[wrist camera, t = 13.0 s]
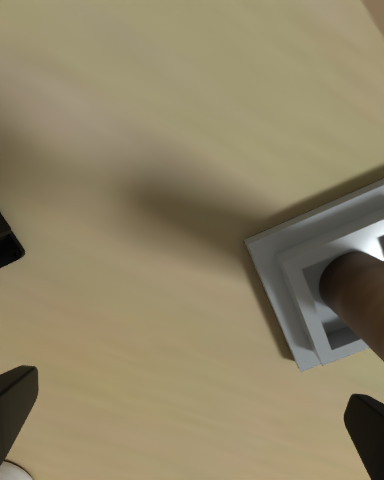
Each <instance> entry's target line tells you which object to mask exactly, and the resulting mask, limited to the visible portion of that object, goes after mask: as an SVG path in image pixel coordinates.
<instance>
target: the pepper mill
mask: <svg viewBox="0 0 384 480" xmlns="http://www.w3.org/2000/svg"><path fill="white" fill-rule="evenodd" d="M319 293H320V296H321V298H322V300H323V301H324V303H325V304H326V305H327V306H328V307H329V308H330V309H331V310H332V311H333V312H334V313H335V314H336V315H337V316H338V317H339V318H340V319H341V320H342V321H343V322H344V323H345V324H346V325H347V326H348V327H349V328H350V329H351V330H352V331H353V332H354V333H355V334H356V335H358V336H359V337H360V338H361V339H362V340H363V341H364V342H365V343H366V344H367V345H368V346H369V347H370V348H371V349H372V350H373V351H374V352H375V353H376V354H377V355H378V356H379V357H380V358H381V359H382V360H383V361H384V261H382V260H380V259H378V258H376V257H374V256H372V255H370V254H368V253H364V252H350V253H346V254H343V255H341V256H339V257H337V258H336V259H334V260H333V261H332V262H331V263H330V264H329V265H328V266H327V267H326V268H325V270H324V271H323V273H322V275H321V278H320V282H319Z"/></svg>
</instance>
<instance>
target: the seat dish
mask: <svg viewBox="0 0 384 480" xmlns="http://www.w3.org/2000/svg"><path fill="white" fill-rule="evenodd" d="M244 242H245V244H246V247H247V249H248V251H249V254H250V256H251V259H252V261H253V263H254V266H255V268H256V270H257V273H258V275H259V278H260V280H261V282H262V285H263V287H264V289H265V292H266V294H267V297H268V299H269V301H270V304H271V306H272V308H273V311H274V313H275V315H276V318H277V320H278V323H279V325H280V327H281V330H282V332H283V334H284V337H285V339H286V342H287V344H288V346H289V349H290V351H291V353H292V356H293V358H294V361H295V363H296V364H297V366H298V368H299V370H300V372H302V371H305V370H307V369H310V368H313V367H315V366H318V365H320V364H322V366H323V365H326V364H328V363H331V362H334V361H336V360H339V359H342V358H344V357H347V356H349V355H352V354H355V353H357V352H360V351H362V350H365V349H368V348H370V347H369V346H368V345H367V344H366V343H365V342H364V341H363V340H362V339H361V338H360V337H359V336H358V335H356V334H355V333H354V332H353V331H352V330H351V329H350V328H349V327H348V326H347V325H346V324H345V323H344V322H343V321H342V320H341V319H340V318H339V317H338V316H337V315H336V314H335V313H334V312H333V311H332V310H331V309H330V308H329V307H328V306H327V305H326V304H325V303H324V301H323V300H322V298H321V296H320V293H319V282H320V278H321V275H322V273H323V271H324V270H325V268H326V267H327V266H328V265H329V264H330V263H331V262H332V261H333V260H334V259H336V258H337V257H339V256H341V255H343V254H346V253H350V252H364V253H368V254H370V255H372V256H374V257H376V258H378V259H380V260H382V261H384V178H383V179H381V180H379V181H377V182H374V183H372V184H370V185H367V186H365V187H363V188H361V189H358V190H356V191H354V192H352V193H349V194H347V195H345V196H343V197H340V198H338V199H336V200H333V201H331V202H329V203H327V204H324V205H322V206H320V207H318V208H315V209H313V210H311V211H308V212H306V213H304V214H302V215H299V216H297V217H295V218H293V219H290V220H288V221H286V222H283V223H281V224H279V225H277V226H274V227H272V228H270V229H268V230H265V231H263V232H261V233H259V234H256V235H254V236H252V237H249V238H247V239H245V240H244Z"/></svg>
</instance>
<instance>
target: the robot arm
mask: <svg viewBox="0 0 384 480" xmlns="http://www.w3.org/2000/svg"><path fill="white" fill-rule="evenodd" d="M14 250H16V251H17V252H18V255H17V254H15V252H14ZM24 255H25V250H24V248H23V247H22V245H21V244H20V242H19V241H18V239H17V238H16V236H15V235H14V233H13V232H12V230H11V228H10V226H9V225H8V223H7V222H6V220H5V219H4V217H3V216H2V214H1V213H0V268H2V267H4V266H6V265H8V264H10V263H12V262H14V261H16V260H18V259H20V258H22V257H23V256H24ZM37 396H38V369H37V368H36V367H35V366H26V365H22V366H19V367H16V368H14V369H12V370H10V371H7V372H5V373H3V374H1V375H0V466H1V464H2V463H3V461H4V459H5V458H6V456H7V454H8V453H9V451H10V449H11V447H12V445H13V443H14V441H15V440H16V438H17V436H18V434H19V432H20V430H21V428H22V426H23V424H24V422H25V420H26V419H27V417H28V415H29V413H30V411H31V409H32V407H33V405H34V403H35V401H36V399H37ZM344 423H345V426H346V429H347V431H348V433H349V435H350V437H351V439H352V441H353V443H354V445H355V447H356V449H357V451H358V454H359V456H360V458H361V460H362V462H363V464H364V466H365V468H366V470H367V472H368V474H369V476H370V478H371V480H384V404H383V403H381V402H379V401H377V400H375V399H374V398H372V397H370V396H368V395H365V394H352V395H351V397H350V399H349V402H348V404H347V407H346V410H345V413H344Z"/></svg>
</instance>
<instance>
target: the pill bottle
mask: <svg viewBox="0 0 384 480" xmlns="http://www.w3.org/2000/svg"><path fill="white" fill-rule="evenodd" d="M0 480H33V479H32V478H31V477H30V475H29V474H28V473H26V472H25V471H24V470H23V469H21V468H19V467H18V466H16V465H14V464H11V463H8V462H5V461H3V463H2V464H1V466H0Z"/></svg>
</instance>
